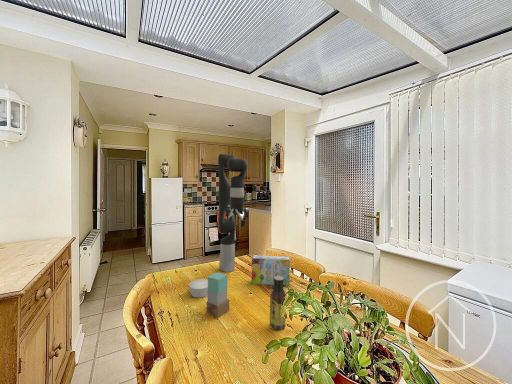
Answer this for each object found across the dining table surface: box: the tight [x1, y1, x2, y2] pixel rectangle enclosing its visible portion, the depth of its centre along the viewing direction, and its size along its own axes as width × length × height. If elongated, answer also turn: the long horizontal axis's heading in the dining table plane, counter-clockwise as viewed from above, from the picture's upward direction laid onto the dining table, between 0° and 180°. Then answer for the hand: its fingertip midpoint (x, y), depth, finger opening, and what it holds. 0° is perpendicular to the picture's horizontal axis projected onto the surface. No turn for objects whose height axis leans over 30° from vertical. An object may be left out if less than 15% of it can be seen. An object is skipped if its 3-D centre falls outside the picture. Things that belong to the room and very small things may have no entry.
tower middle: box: [206, 288, 228, 306], centre depth 101 cm, size 6×6×5 cm
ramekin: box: [188, 278, 208, 298], centre depth 117 cm, size 11×11×5 cm
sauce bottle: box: [269, 276, 287, 331], centre depth 91 cm, size 6×6×20 cm
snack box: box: [251, 254, 291, 287], centre depth 130 cm, size 21×6×15 cm, turn 84°
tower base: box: [206, 298, 230, 319], centre depth 101 cm, size 7×7×5 cm
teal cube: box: [207, 272, 228, 294], centre depth 101 cm, size 6×6×6 cm
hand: (236, 226), depth 124 cm, fingers open, 8 cm apart
